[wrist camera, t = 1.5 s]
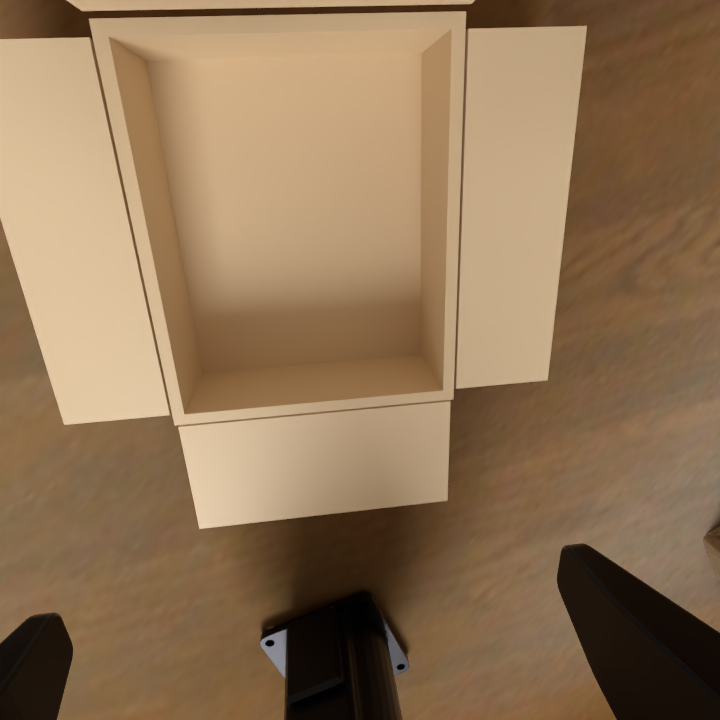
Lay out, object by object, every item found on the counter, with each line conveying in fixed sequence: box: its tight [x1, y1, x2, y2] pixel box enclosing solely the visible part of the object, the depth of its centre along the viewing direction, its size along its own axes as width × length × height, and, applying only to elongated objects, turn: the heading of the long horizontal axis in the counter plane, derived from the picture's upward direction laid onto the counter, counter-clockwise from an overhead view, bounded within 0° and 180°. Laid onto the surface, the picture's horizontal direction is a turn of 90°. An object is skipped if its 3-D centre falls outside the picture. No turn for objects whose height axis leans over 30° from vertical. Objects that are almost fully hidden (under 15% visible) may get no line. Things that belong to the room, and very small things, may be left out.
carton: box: [0, 11, 587, 529], centre depth 18 cm, size 17×17×4 cm
